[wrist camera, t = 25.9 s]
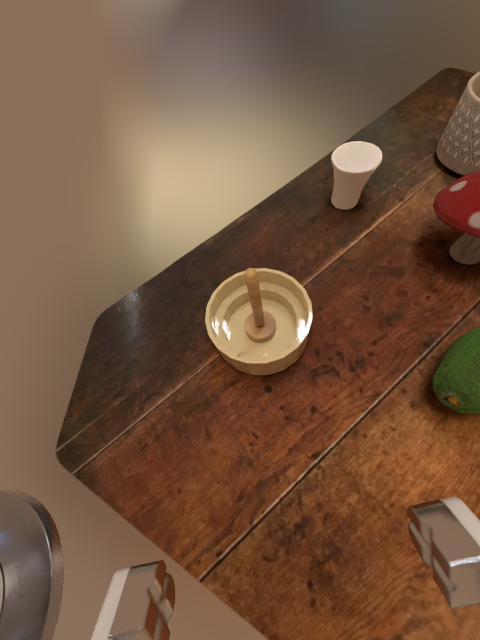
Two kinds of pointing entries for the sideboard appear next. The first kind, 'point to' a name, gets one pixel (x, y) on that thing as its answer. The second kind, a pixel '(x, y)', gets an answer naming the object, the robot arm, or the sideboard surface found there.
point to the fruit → (460, 375)
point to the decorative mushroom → (462, 216)
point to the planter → (463, 133)
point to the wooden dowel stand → (257, 312)
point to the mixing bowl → (277, 299)
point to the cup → (352, 171)
